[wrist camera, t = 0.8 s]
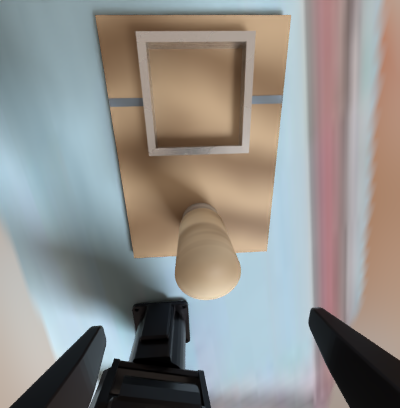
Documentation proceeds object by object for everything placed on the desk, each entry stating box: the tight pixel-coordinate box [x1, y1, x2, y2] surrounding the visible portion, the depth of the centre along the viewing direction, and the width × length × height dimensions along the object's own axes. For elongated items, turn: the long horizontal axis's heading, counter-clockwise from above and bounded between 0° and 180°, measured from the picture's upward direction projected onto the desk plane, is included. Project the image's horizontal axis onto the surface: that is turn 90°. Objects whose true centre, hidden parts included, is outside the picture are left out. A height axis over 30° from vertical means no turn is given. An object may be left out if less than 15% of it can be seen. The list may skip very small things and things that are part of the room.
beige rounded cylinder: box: [175, 203, 241, 300], centre depth 16 cm, size 4×4×8 cm
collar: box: [136, 31, 256, 156], centre depth 15 cm, size 8×8×1 cm
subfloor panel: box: [95, 15, 291, 258], centre depth 18 cm, size 20×14×1 cm
